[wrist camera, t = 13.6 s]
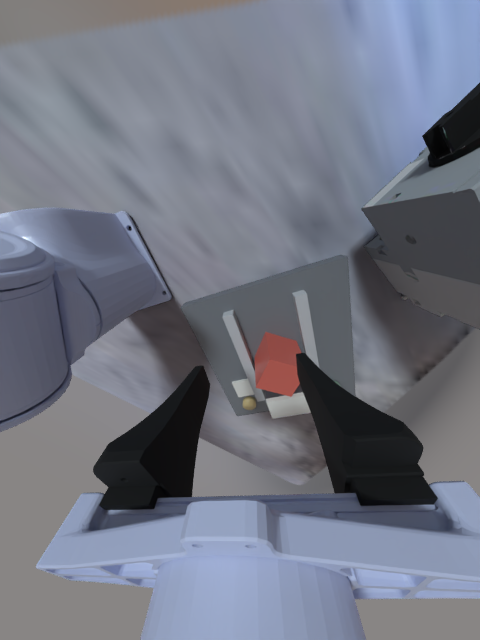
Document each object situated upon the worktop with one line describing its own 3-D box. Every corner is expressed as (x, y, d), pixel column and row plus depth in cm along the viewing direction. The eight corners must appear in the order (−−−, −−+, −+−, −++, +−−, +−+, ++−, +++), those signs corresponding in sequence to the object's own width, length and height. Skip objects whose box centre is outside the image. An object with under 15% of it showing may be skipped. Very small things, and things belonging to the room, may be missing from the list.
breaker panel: (185, 303, 22) (177, 312, 19) (340, 254, 18) (354, 258, 16) (237, 407, 30) (236, 423, 28) (350, 387, 27) (360, 403, 24)
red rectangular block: (254, 356, 23) (255, 387, 18) (265, 331, 21) (269, 359, 17) (283, 364, 23) (291, 396, 19) (296, 340, 22) (308, 369, 17)
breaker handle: (263, 373, 24) (266, 402, 20) (300, 365, 23) (311, 394, 19) (268, 388, 25) (272, 418, 21) (304, 381, 24) (315, 412, 20)
